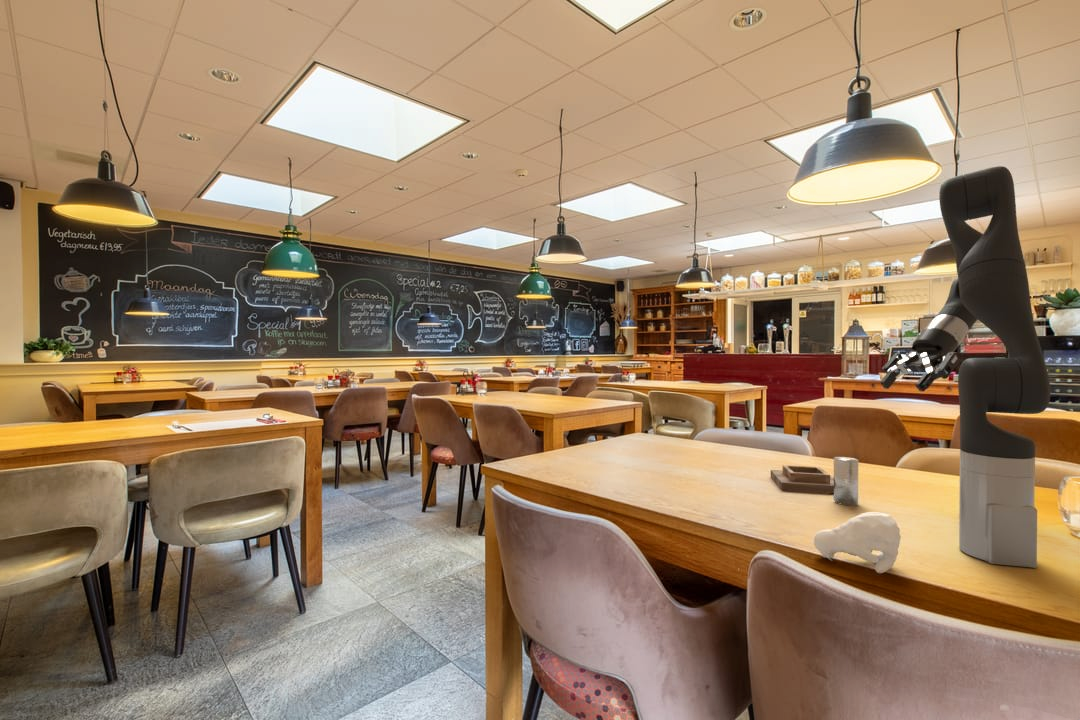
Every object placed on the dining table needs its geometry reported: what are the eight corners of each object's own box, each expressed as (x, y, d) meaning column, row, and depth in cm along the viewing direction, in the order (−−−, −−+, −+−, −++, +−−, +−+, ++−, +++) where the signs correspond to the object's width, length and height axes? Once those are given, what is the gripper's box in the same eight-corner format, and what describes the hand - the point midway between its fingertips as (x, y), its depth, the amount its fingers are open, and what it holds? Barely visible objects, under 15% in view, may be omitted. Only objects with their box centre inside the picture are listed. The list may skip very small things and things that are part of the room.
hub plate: (844, 494, 118) (845, 478, 118) (781, 490, 122) (781, 474, 122) (827, 480, 131) (827, 465, 131) (770, 477, 135) (770, 462, 135)
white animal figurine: (900, 520, 74) (810, 515, 79) (907, 577, 73) (815, 568, 79) (895, 509, 79) (810, 505, 85) (901, 562, 79) (816, 554, 85)
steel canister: (861, 506, 109) (861, 461, 109) (837, 504, 110) (837, 460, 110) (853, 500, 113) (854, 457, 113) (830, 498, 115) (830, 456, 115)
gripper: (902, 328, 121) (864, 375, 119) (964, 325, 107) (922, 377, 105) (919, 349, 123) (882, 396, 120) (982, 349, 109) (941, 401, 106)
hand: (901, 387), depth 112 cm, fingers open, 8 cm apart
